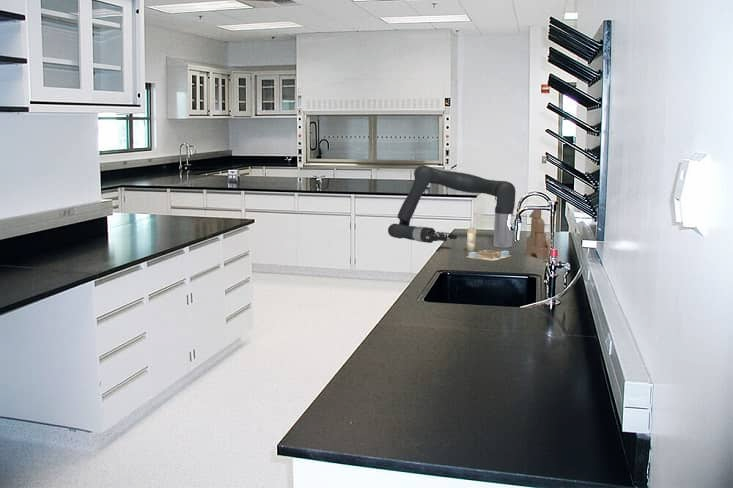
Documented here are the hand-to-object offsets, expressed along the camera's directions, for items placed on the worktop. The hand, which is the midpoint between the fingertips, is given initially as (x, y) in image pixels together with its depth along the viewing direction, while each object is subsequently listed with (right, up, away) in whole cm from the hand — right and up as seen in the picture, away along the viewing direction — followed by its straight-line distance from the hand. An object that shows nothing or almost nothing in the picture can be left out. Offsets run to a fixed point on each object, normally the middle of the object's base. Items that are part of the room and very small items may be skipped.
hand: (451, 238), depth 342 cm
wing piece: (+23, -8, -13) cm, 27 cm away
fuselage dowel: (+8, -8, -6) cm, 13 cm away
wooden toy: (+39, -10, -13) cm, 42 cm away
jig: (+16, -10, -14) cm, 23 cm away
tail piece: (+8, -9, -17) cm, 20 cm away
